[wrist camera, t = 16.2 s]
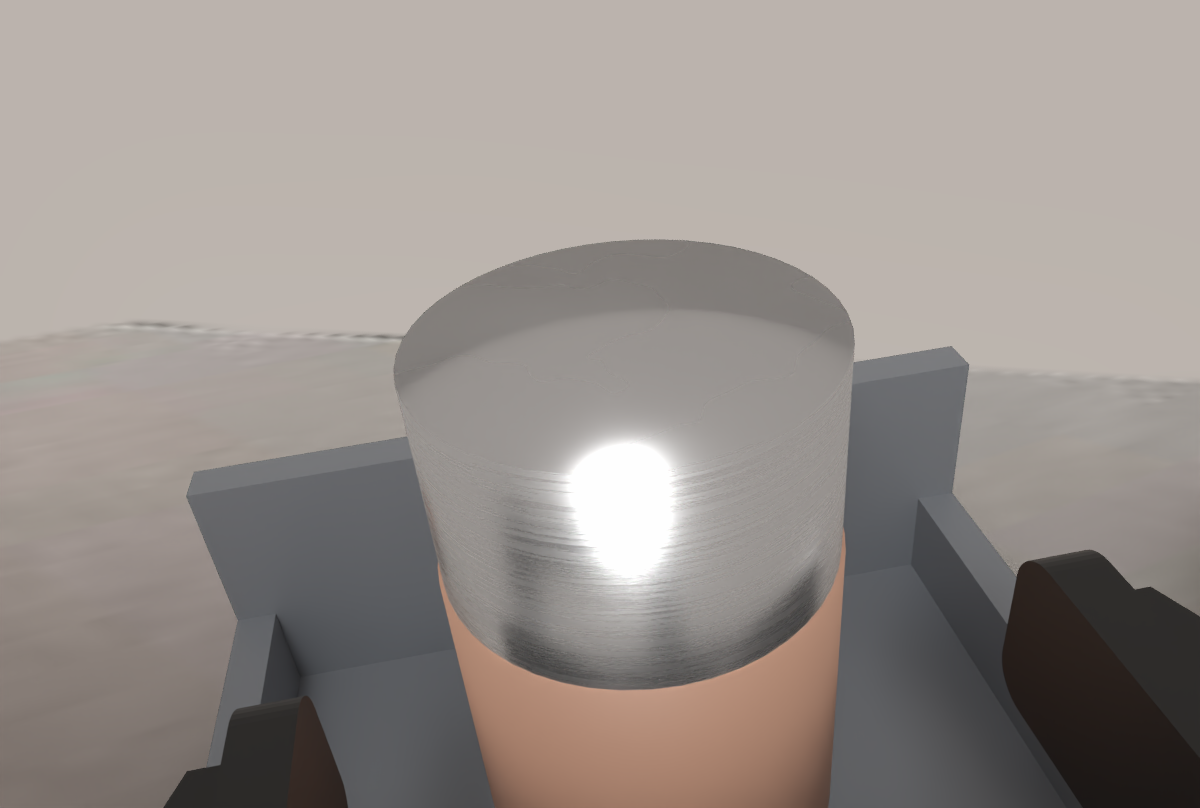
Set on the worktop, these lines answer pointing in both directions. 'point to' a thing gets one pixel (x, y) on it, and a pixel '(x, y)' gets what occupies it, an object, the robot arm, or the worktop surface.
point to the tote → (430, 664)
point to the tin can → (639, 520)
